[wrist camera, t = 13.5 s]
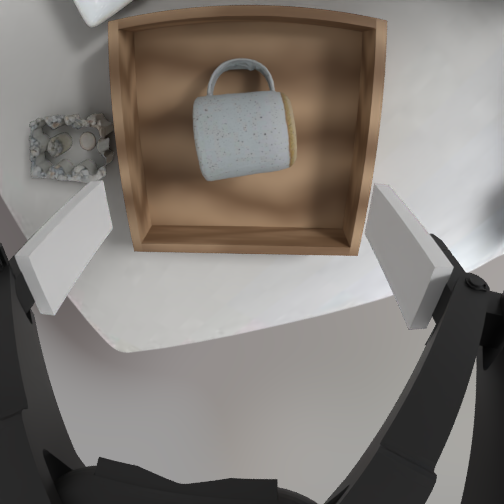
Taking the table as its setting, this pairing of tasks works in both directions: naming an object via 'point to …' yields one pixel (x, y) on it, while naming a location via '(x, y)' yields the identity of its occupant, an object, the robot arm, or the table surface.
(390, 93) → the table surface
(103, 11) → the square plate
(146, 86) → the wooden crate
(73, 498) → the robot arm
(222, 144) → the ceramic mug
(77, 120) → the egg carton
